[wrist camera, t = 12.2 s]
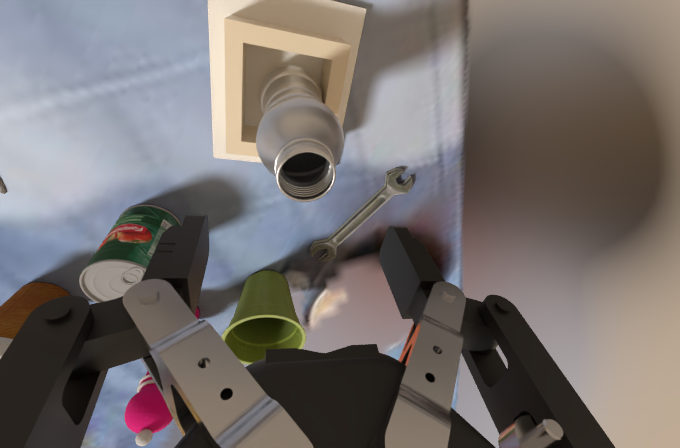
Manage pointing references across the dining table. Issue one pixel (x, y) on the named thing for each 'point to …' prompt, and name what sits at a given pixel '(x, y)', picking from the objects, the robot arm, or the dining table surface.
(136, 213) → the canned tomato
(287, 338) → the plant pot
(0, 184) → the pliers
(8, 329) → the disposable coffee cup
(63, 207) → the dining table surface
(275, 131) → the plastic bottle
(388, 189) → the wrench
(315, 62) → the housing
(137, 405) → the pepper mill
